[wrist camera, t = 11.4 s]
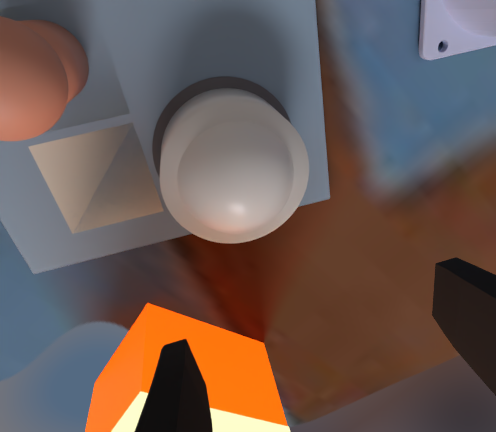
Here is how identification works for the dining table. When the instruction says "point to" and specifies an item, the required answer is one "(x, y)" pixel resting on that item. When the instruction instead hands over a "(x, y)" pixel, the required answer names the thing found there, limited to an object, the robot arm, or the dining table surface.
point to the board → (148, 115)
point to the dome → (231, 166)
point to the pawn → (37, 76)
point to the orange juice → (211, 367)
